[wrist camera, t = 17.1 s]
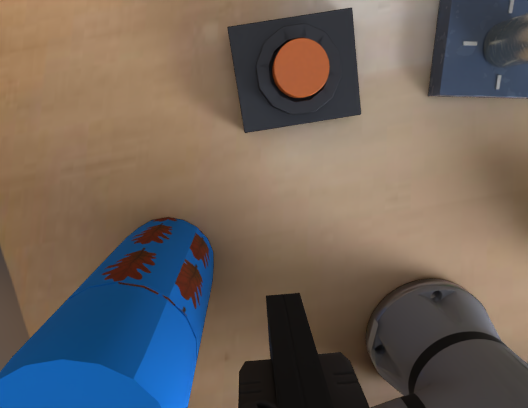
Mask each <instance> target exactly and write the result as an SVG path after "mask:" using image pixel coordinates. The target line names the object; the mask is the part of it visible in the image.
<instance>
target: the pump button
mask: <svg viewBox="0 0 528 408" xmlns="http://www.w3.org/2000/svg"><path fill="white" fill-rule="evenodd" d="M329 68H330V66H329V59H328V56H327V54H326V52H325V50H324V49H323V47H322V46H321V45H320V44H318V43H317V42H315V41H314V40H311V39H308V38H297V39H293V40H291V41H289V42H287V43H286V44H285V45H284V46H283V47H282V48H281V49H280V50H279V52H278V53H277V55H276V57H275V60H274V63H273V68H272V73H273V79H274V82H275V84H276V86H277V87H278V88H279V90H280V91H281V92H283V93H284V94H285V95H287V96H289V97H293V98H304V97H308V96H311V95H313V94H315V93H316V92H318V91H319V90H320V89H321V88H322V87H323V86H324V84H325V83H326V80H327V78H328V75H329Z"/></svg>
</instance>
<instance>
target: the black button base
mask: <svg viewBox="0 0 528 408" xmlns="http://www.w3.org/2000/svg"><path fill="white" fill-rule="evenodd" d="M228 34H229V40H230V46H231V52H232V58H233V64H234V70H235V77H236V83H237V89H238V95H239V101H240V107H241V113H242V119H243V126H244V132H245V133H248V132H254V131H260V130H267V129H273V128H279V127H285V126H292V125H298V124H304V123H311V122H317V121H323V120H330V119H336V118H342V117H349V116H355V115H361V108H360V96H359V84H358V73H357V61H356V49H355V37H354V25H353V13H352V8H346V9H340V10H333V11H327V12H321V13H314V14H308V15H301V16H295V17H288V18H282V19H276V20H269V21H263V22H256V23H250V24H243V25H237V26H231V27H228ZM297 38H308V39H311V40H314V41H315V42H317V43H318V44H320V45H321V46H322V47H323V49H324V50H325V52H326V54H327V56H328V59H329V66H330V68H329V75H328V78H327V80H326V83H325V84H324V86H323V87H322V88H321V89H320V90H319V91H318V92H316V93H315V94H313V95H311V96H308V97H304V98H293V97H289V96H287V95H285V94H284V93H283V92H281V91H280V90H279V88H278V87H277V86H276V84H275V82H274V79H273V73H272V68H273V63H274V60H275V57H276V55H277V53H278V52H279V50H280V49H281V48H282V47H283V46H284V45H285V44H286V43H287V42H289V41H291V40H293V39H297Z"/></svg>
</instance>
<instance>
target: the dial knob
mask: <svg viewBox="0 0 528 408" xmlns="http://www.w3.org/2000/svg"><path fill="white" fill-rule="evenodd" d="M483 49H484V55H485V57H486V59H487V61H488V62H489V63H490V64H491V65H493V66H495V67H498V68H505V67H511V66H517V65H522V64H528V13H525V14H523V15H520V16H517V17H514V18H511V19H509V20H506V21H503V22H500V23H498V24H496V25H495V26H494V27H493V28H492V29H491V30H490V31H489V32H488V34H487V36H486V38H485V41H484V47H483Z"/></svg>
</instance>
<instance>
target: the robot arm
mask: <svg viewBox="0 0 528 408" xmlns="http://www.w3.org/2000/svg"><path fill="white" fill-rule="evenodd" d="M266 303H267V317H268V332H269V346H270V357H271V359H268V360H257V361H245V363H244V365H243V366H242V368H241V370H240V371H239V404H238V408H370V407H369V405H368V403H367V400H366V398H365V396H364V393H363V391H362V388H361V386H360V384H359V382H358V379H357V376H356V374H355V372H354V369H353V367H352V365H351V362H350V360H348V359H347V358H346V357H345V356H344V355H343V354H342V353H341V352H337V353H325V354H318V353H317V350H316V346H315V343H314V340H313V336H312V333H311V330H310V326H309V323H308V320H307V316H306V313H305V310H304V306H303V303H302V299H301V296H300V293H293V294H281V295H269V296H266ZM366 346H367V350H368V353H369V356H370V358H371V360H372V362H373V364H374V366H375V368H376V370H377V371H378V373H379V374H380V375H381V376H382V377H383V379H385V380H386V381H387V382H388V383H389V384H391V385H392V386H393V387H394V388H395V389H397V390H398V391H399V392H400V393H401V394H402V395H404V396H403V397H400V398H396V399H393V400H391V401H388V402H385V403H382V404H379V405H376V406H374V407H371V408H528V364H527V363H526V362H524V361H523V360H522V359H521V358H520V357H519V356H518V355H516V354H515V353H514V352H513V351H512V350H511V349H509V348H508V347H507V346H506V345H505V344H504V343H503V342H502V341H501V339H500V337H499V335H498V333H497V331H496V330H495V328H494V326H493V324H492V322H491V320H490V318H489V316H488V314H487V312H486V310H485V308H484V307H483V305H482V304H481V303H480V302H479V301H478V300H477V299H476V298H475V297H474V296H473V295H472V294H470V293H469V292H468V291H467V290H465V289H464V288H463V287H461V286H459V285H457V284H455V283H453V282H450V281H446V280H441V279H422V280H417V281H413V282H410V283H407V284H405V285H403V286H401V287H399V288H397V289H396V290H394V291H392V292H391V293H390V294H388V295H387V296H386V297H385V298H384V299H383V300H382V301H381V302H380V303H379V305H378V306H377V307H376V309H375V310H374V312H373V313H372V315H371V317H370V320H369V323H368V326H367V331H366Z"/></svg>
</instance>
